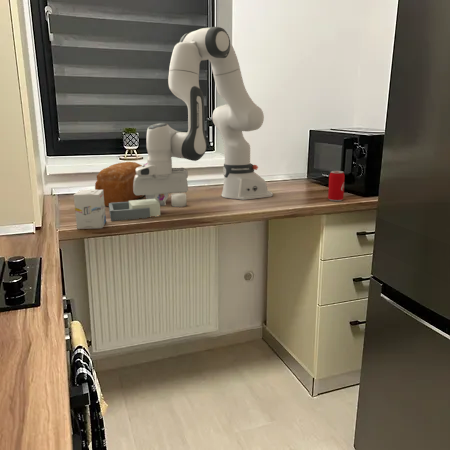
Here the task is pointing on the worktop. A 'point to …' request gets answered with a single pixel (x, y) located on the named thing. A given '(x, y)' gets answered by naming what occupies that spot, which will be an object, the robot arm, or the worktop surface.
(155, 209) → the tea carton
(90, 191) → the ink box
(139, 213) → the grey rectangular tray
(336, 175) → the beverage can
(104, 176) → the bread
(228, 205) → the worktop surface
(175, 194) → the white rounded block
